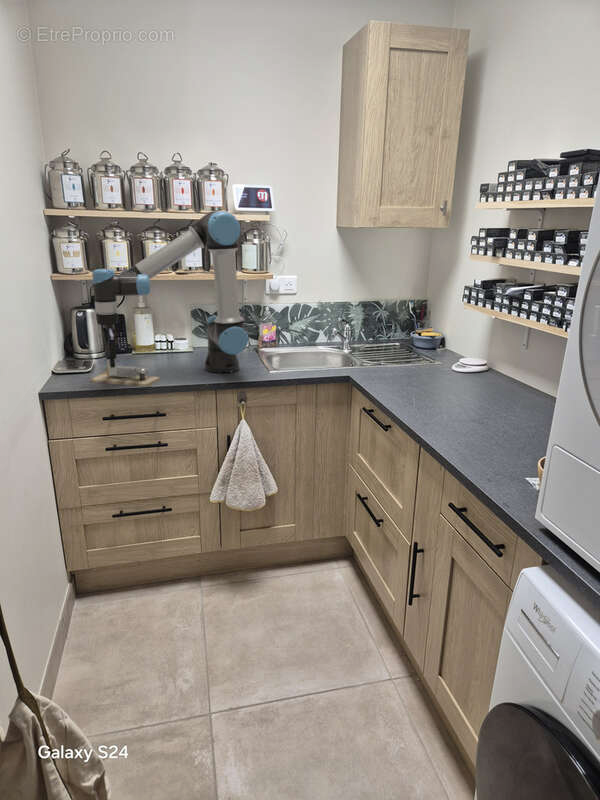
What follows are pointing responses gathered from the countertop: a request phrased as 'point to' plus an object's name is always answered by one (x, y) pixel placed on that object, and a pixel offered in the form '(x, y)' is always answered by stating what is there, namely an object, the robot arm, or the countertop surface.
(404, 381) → the countertop surface
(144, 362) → the countertop surface
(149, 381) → the jamb plate
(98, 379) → the keeper plate
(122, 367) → the swing bar
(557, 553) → the countertop surface
